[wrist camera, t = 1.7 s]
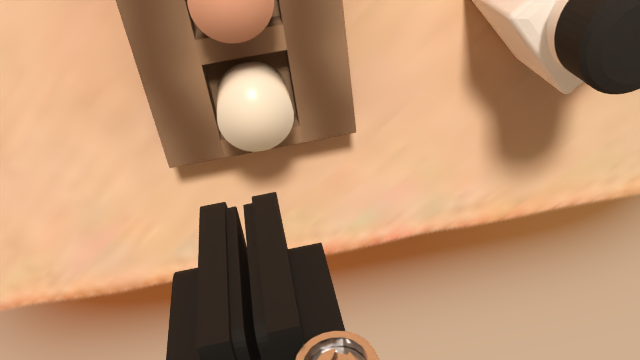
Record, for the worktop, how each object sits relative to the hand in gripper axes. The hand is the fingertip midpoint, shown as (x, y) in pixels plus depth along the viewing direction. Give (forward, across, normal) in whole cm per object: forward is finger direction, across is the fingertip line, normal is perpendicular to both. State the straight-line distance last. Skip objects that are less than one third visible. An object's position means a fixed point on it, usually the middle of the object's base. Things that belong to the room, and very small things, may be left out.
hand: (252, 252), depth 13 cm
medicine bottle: (+27, -20, +4) cm, 34 cm away
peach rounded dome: (+25, 0, 0) cm, 25 cm away
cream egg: (+25, 0, +7) cm, 26 cm away
